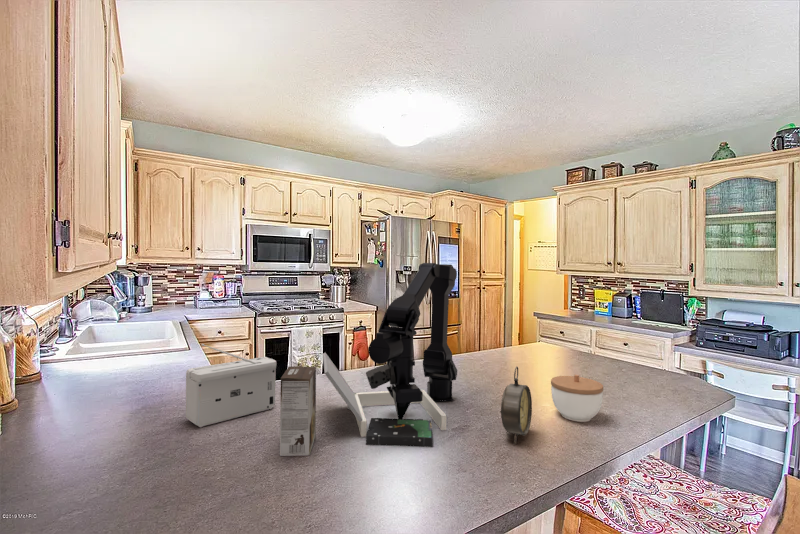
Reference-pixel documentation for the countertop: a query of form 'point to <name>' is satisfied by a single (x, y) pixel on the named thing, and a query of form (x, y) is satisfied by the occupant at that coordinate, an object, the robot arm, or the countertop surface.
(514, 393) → the alarm clock
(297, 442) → the coffee box
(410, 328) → the robot arm
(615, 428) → the countertop surface
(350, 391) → the beige bent panel frame
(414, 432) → the disk drive
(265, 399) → the stereo radio cassette player
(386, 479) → the countertop surface
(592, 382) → the lidded bowl
